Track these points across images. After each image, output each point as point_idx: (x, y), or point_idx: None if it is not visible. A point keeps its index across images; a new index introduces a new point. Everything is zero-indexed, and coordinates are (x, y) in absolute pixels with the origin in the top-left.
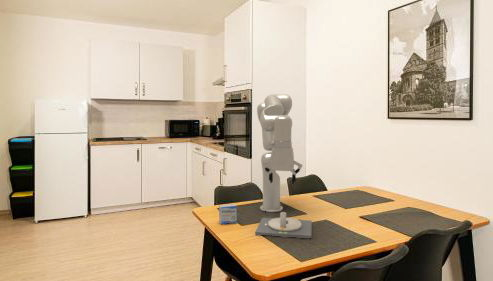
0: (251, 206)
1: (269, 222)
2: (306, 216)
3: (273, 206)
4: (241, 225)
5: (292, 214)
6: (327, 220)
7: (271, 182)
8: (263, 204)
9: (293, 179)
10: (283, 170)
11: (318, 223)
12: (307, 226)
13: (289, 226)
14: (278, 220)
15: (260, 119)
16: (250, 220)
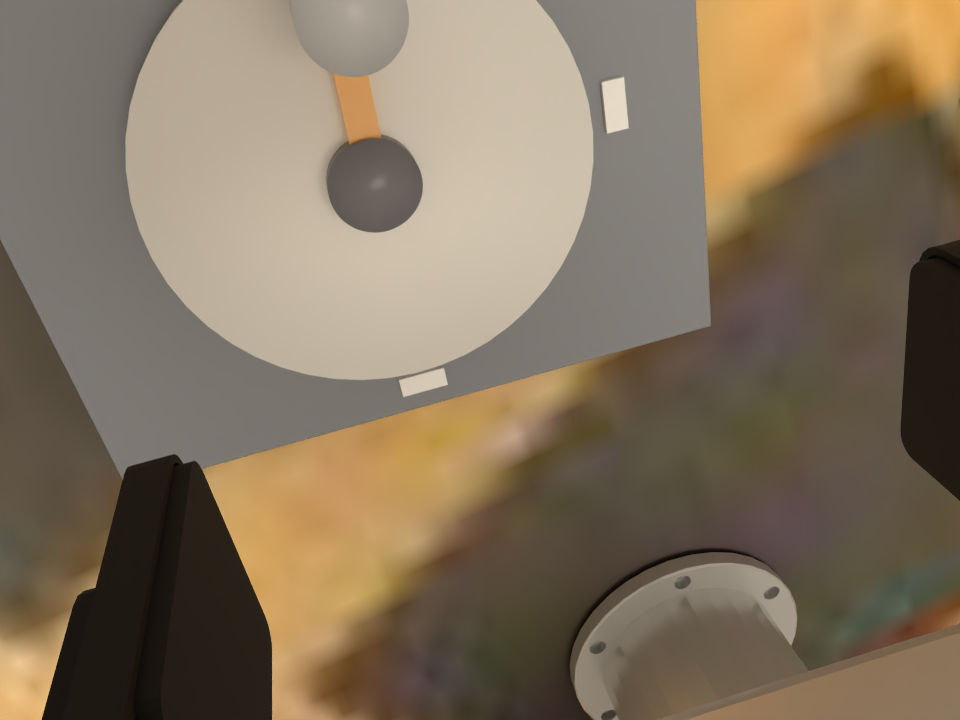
0: (877, 614)
1: (572, 100)
2: (277, 626)
3: (666, 632)
4: (893, 53)
5: (437, 610)
6: (9, 627)
7: (930, 260)
8: (778, 629)
9: (108, 571)
10: (732, 700)
11: (60, 505)
12: (79, 274)
13: (255, 56)
14: (481, 229)
15: None
16: (821, 256)
